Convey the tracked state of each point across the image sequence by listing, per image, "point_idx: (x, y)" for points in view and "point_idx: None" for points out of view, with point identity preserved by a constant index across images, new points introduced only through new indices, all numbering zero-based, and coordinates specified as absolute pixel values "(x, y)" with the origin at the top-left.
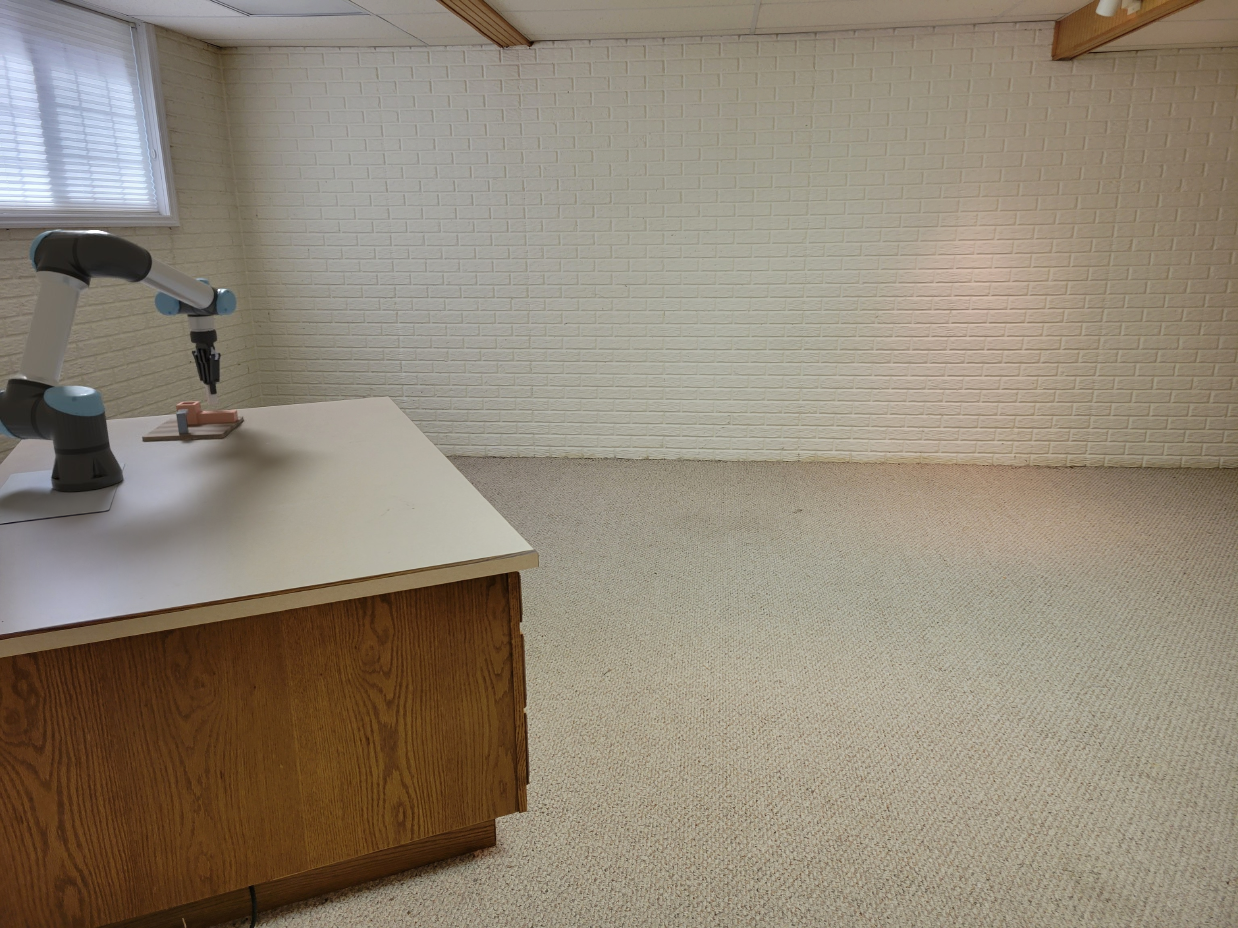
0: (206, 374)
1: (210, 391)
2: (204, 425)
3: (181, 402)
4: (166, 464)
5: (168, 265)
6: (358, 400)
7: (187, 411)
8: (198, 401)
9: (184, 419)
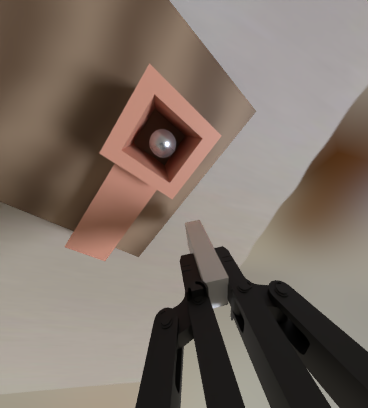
0: (228, 361)
1: (196, 262)
2: (77, 152)
3: (207, 128)
4: None
5: None
6: None
7: None
8: (170, 193)
9: None
